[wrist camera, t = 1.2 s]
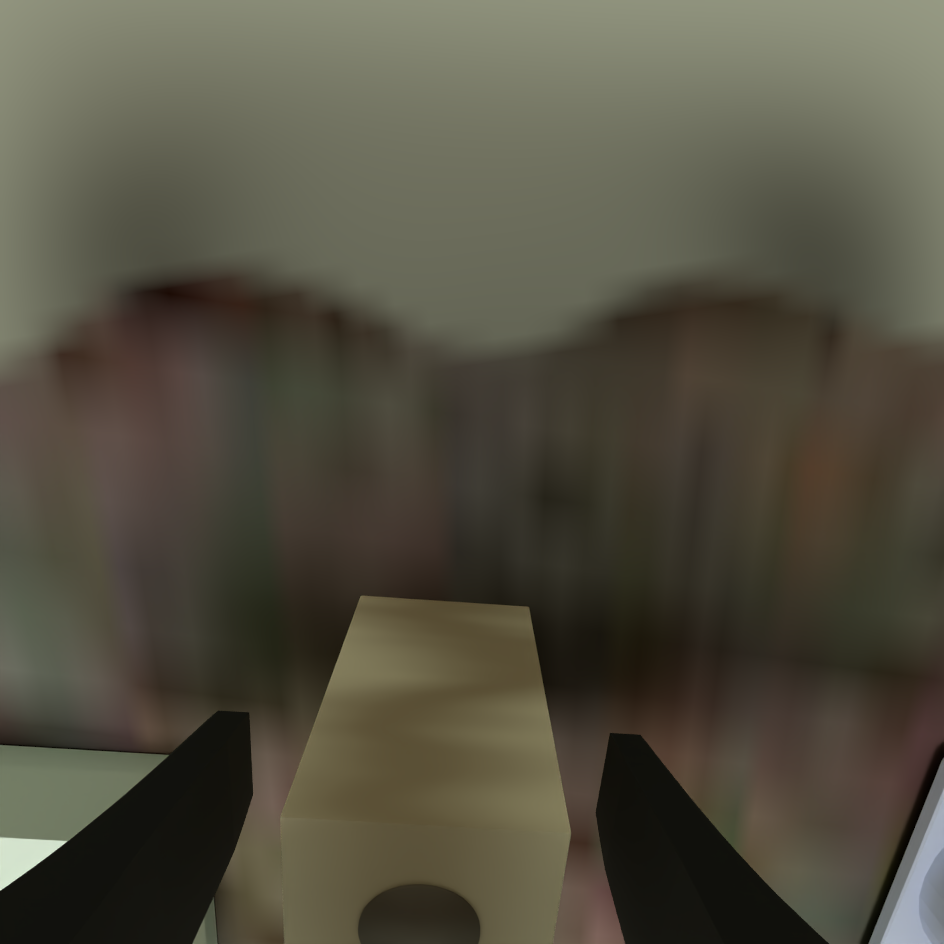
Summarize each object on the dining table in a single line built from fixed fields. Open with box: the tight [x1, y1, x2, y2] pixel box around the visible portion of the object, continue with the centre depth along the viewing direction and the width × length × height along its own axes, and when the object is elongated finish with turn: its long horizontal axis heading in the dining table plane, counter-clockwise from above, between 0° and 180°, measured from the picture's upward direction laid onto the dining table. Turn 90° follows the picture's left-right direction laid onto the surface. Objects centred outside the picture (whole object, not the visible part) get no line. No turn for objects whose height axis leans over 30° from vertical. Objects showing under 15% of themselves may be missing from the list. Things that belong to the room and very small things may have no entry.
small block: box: [280, 596, 571, 944], centre depth 11 cm, size 4×4×6 cm
